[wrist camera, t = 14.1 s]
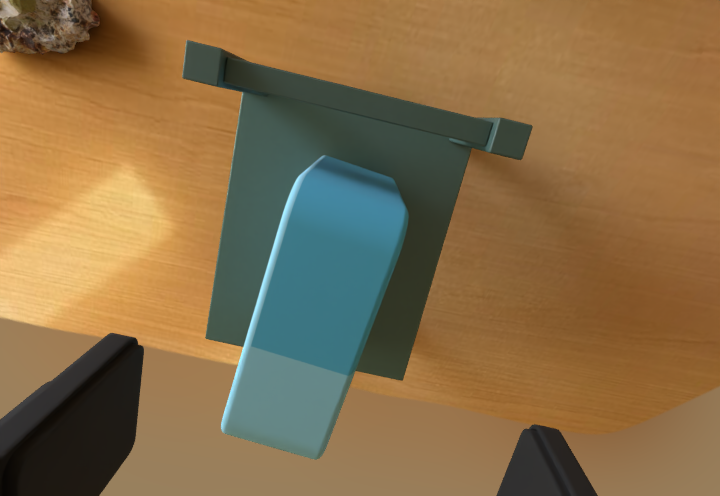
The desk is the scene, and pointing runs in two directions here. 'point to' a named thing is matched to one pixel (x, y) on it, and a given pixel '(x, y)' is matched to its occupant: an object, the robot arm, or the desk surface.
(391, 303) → the chair
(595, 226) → the desk surface
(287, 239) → the light blue rounded block
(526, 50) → the desk surface
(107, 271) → the desk surface
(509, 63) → the desk surface
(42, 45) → the mineral rock
